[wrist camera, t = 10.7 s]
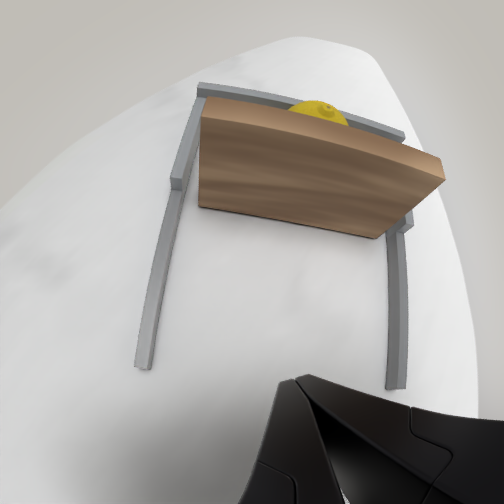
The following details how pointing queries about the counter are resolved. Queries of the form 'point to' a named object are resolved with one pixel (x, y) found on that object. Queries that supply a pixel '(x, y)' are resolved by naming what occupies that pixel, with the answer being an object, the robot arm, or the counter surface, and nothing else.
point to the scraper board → (308, 169)
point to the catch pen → (174, 206)
